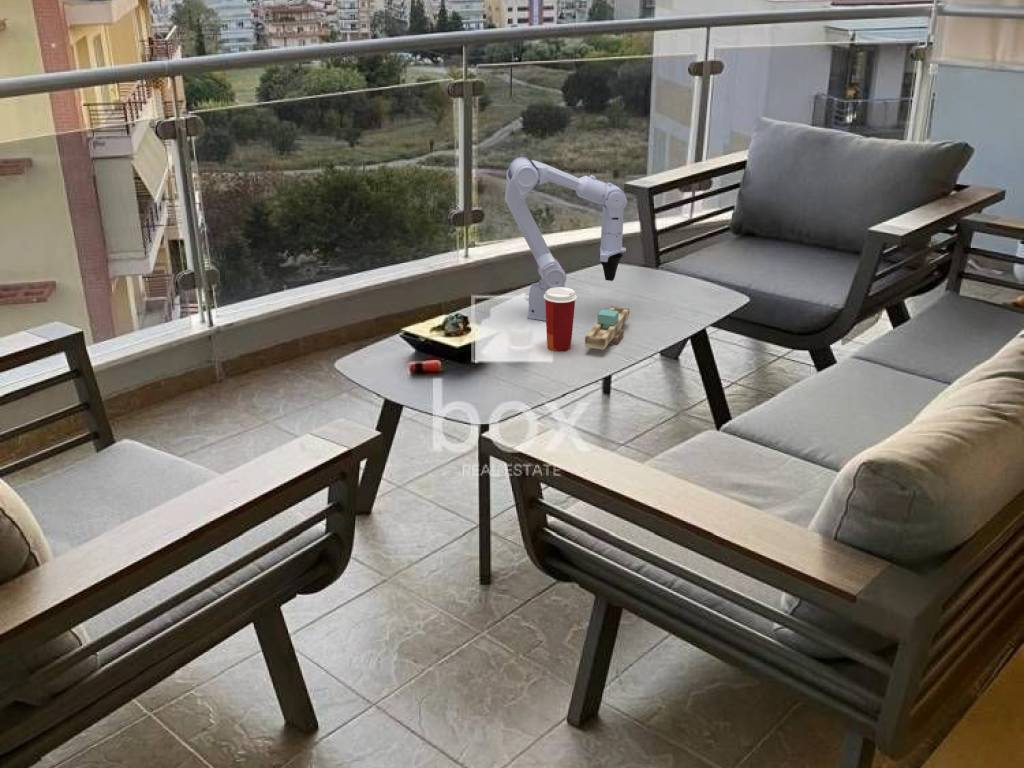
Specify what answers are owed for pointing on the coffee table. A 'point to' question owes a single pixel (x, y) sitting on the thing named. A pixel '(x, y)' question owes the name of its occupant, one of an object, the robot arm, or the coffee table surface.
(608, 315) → the teal cube
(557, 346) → the coffee cup
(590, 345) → the tan wooden slatted block
